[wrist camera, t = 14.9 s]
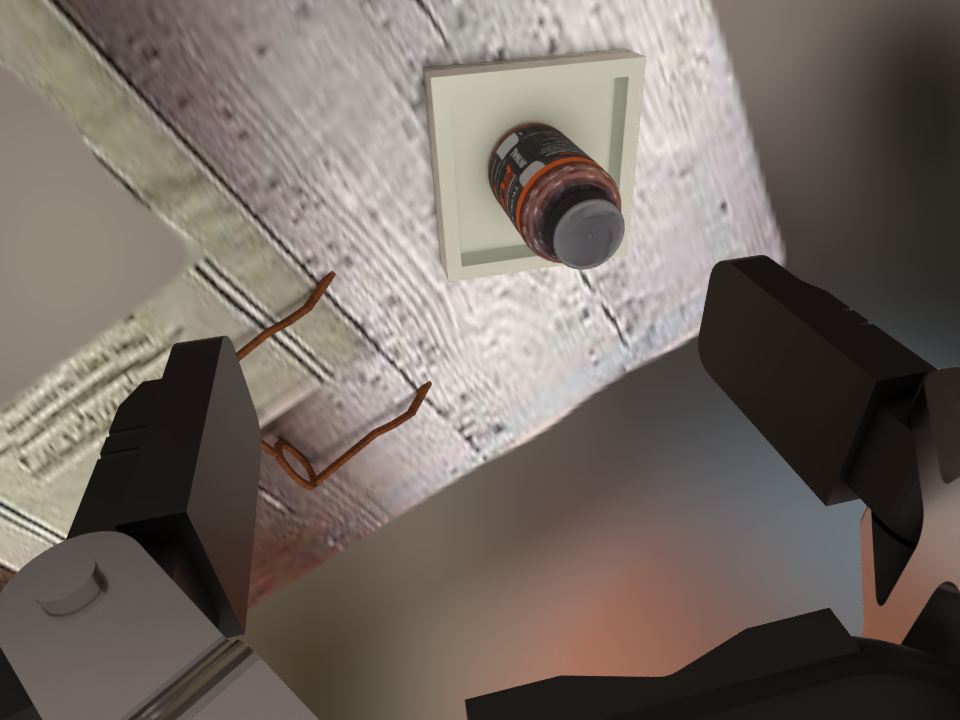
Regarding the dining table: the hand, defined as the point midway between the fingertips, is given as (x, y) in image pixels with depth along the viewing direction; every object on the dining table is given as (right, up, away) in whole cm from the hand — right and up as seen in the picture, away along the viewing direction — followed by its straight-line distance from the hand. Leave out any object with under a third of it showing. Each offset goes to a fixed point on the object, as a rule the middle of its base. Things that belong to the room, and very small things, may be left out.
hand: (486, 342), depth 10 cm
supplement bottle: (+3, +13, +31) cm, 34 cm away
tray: (+3, +13, +32) cm, 35 cm away
